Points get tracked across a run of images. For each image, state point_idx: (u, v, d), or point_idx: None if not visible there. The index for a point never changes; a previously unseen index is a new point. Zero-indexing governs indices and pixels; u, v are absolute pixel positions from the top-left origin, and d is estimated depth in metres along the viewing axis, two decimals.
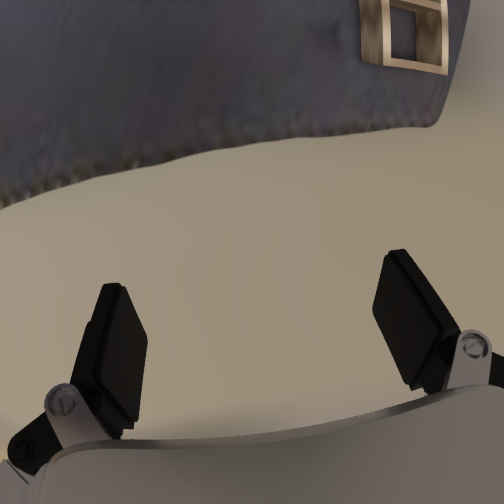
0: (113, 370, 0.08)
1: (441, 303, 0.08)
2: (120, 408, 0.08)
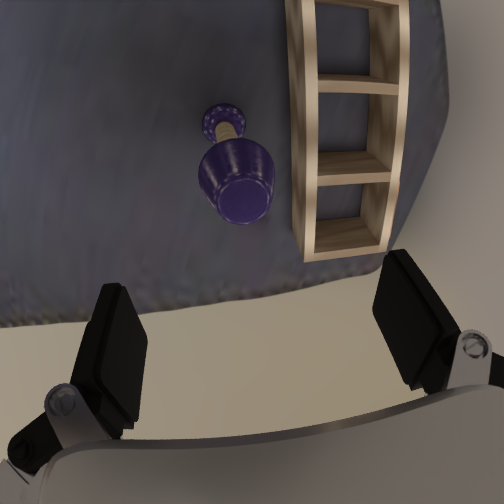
0: (113, 370, 0.08)
1: (441, 303, 0.08)
2: (120, 408, 0.08)
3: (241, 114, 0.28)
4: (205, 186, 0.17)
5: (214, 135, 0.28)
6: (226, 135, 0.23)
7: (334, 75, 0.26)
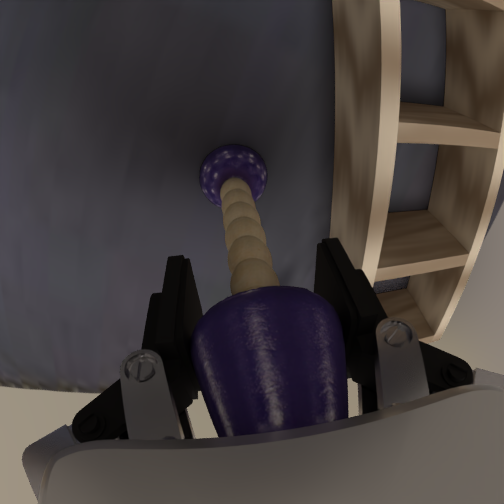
0: (188, 335, 0.09)
1: (363, 289, 0.09)
2: (191, 375, 0.09)
3: (261, 162, 0.19)
4: (206, 402, 0.08)
5: (218, 197, 0.19)
6: (240, 223, 0.13)
7: (404, 106, 0.16)
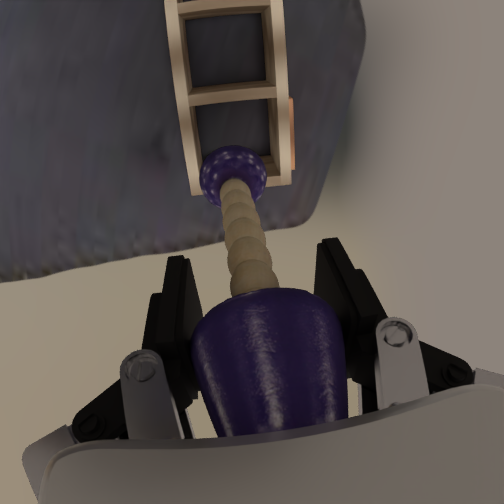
0: (188, 335, 0.09)
1: (363, 289, 0.09)
2: (191, 375, 0.09)
3: (260, 163, 0.19)
4: (206, 404, 0.08)
5: (218, 198, 0.19)
6: (240, 224, 0.13)
7: None
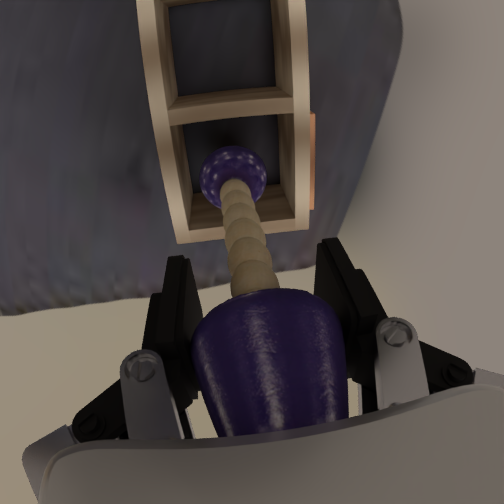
0: (188, 335, 0.09)
1: (363, 289, 0.09)
2: (191, 375, 0.09)
3: (260, 163, 0.19)
4: (206, 405, 0.08)
5: (218, 198, 0.19)
6: (240, 225, 0.13)
7: None
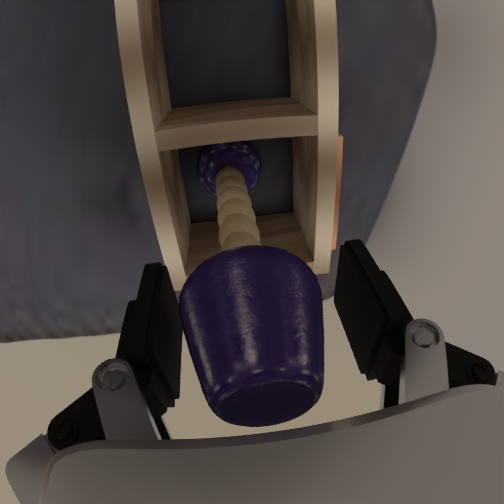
0: (161, 344, 0.09)
1: (390, 291, 0.09)
2: (165, 384, 0.09)
3: (254, 153, 0.20)
4: (190, 353, 0.09)
5: (214, 186, 0.20)
6: (232, 203, 0.14)
7: None
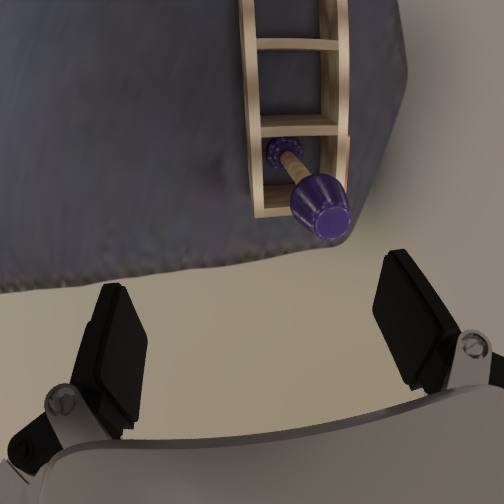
0: (113, 370, 0.08)
1: (441, 303, 0.08)
2: (120, 408, 0.08)
3: (300, 145, 0.34)
4: (301, 209, 0.23)
5: (278, 162, 0.34)
6: (298, 166, 0.29)
7: None
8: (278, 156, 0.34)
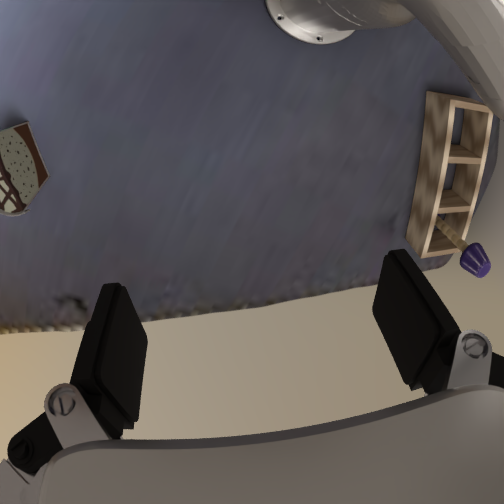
0: (113, 370, 0.08)
1: (441, 303, 0.08)
2: (120, 408, 0.08)
3: None
4: (470, 263, 0.38)
5: None
6: (452, 230, 0.44)
7: None
8: None
